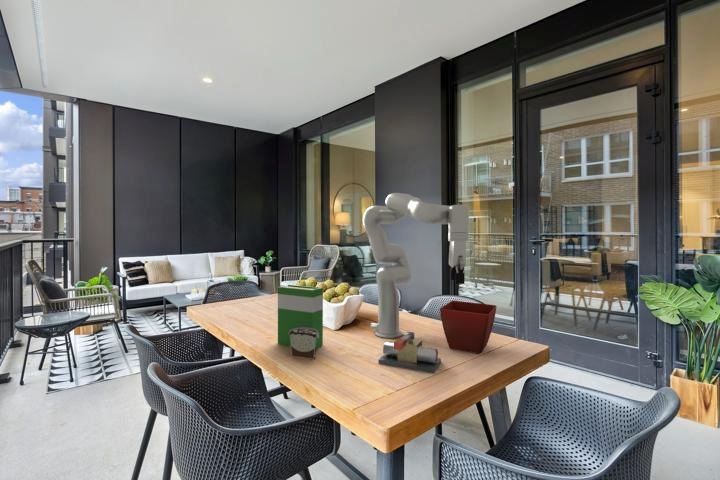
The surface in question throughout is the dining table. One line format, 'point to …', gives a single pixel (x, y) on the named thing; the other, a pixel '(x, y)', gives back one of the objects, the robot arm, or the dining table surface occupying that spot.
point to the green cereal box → (299, 311)
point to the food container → (303, 342)
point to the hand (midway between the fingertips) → (457, 281)
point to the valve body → (411, 356)
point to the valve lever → (403, 341)
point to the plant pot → (467, 325)
